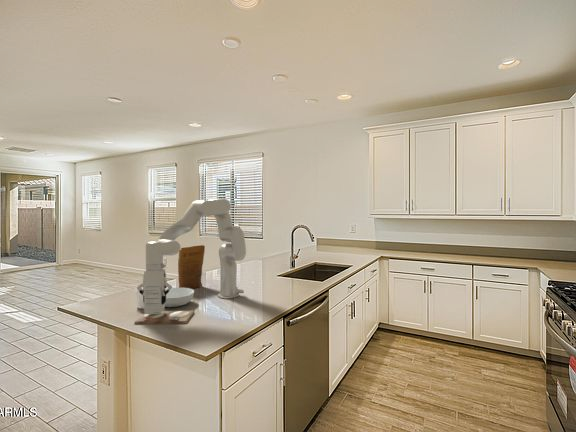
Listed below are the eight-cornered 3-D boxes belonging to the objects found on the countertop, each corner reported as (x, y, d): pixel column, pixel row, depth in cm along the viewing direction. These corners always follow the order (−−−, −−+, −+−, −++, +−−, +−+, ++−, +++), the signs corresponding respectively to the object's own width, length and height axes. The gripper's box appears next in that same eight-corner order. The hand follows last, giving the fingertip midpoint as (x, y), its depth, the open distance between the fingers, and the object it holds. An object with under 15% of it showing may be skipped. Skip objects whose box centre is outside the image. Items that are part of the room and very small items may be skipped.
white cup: (155, 305, 163) (155, 286, 163) (143, 309, 156) (143, 290, 156) (143, 303, 166) (143, 285, 166) (132, 308, 158) (132, 289, 158)
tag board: (194, 313, 151) (194, 309, 151) (186, 323, 137) (186, 320, 137) (147, 313, 150) (147, 310, 150) (134, 324, 136) (134, 320, 136)
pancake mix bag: (207, 286, 203) (207, 245, 202) (179, 292, 190) (179, 247, 189) (202, 285, 208) (202, 244, 207) (175, 289, 194) (175, 246, 194)
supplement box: (149, 309, 148) (149, 283, 148) (165, 308, 149) (165, 283, 149) (143, 314, 141) (143, 287, 141) (160, 314, 142) (159, 287, 141)
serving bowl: (170, 313, 150) (170, 300, 150) (145, 306, 161) (145, 293, 161) (202, 303, 168) (202, 290, 168) (177, 297, 179) (177, 285, 179)
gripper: (175, 265, 149) (175, 301, 149) (139, 265, 148) (139, 301, 148) (170, 268, 141) (170, 306, 142) (132, 268, 140) (132, 306, 141)
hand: (154, 303), depth 145 cm, fingers closed on supplement box, 7 cm apart
